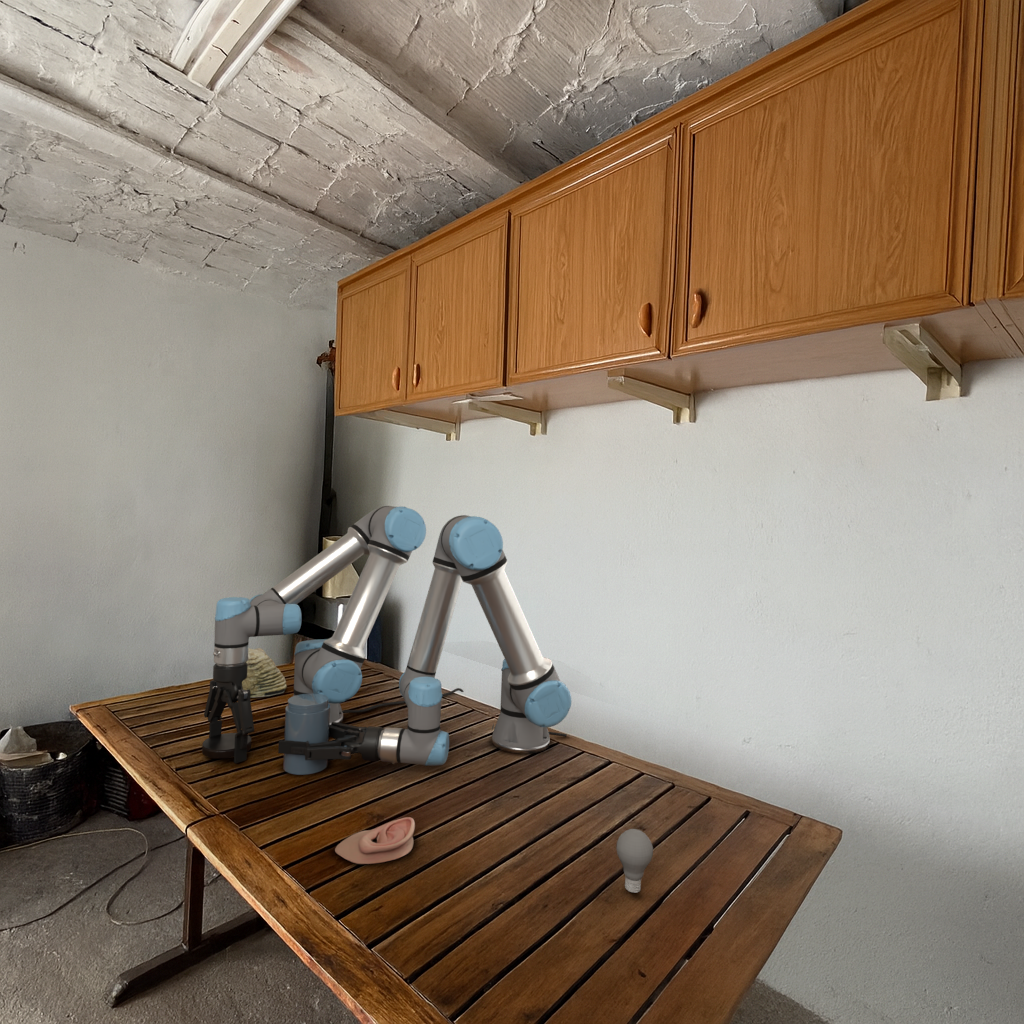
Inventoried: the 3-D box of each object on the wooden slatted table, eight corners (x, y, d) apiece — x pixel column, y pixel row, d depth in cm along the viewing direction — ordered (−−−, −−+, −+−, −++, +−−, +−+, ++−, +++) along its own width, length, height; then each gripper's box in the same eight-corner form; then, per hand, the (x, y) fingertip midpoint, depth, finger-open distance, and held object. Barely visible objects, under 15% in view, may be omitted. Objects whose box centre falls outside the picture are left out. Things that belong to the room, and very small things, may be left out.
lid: (208, 741, 156) (208, 733, 156) (254, 740, 158) (255, 732, 158) (196, 759, 145) (197, 750, 145) (246, 757, 147) (246, 748, 147)
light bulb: (610, 879, 108) (613, 822, 108) (644, 879, 109) (647, 822, 109) (619, 902, 102) (622, 840, 102) (655, 901, 103) (658, 840, 103)
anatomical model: (327, 836, 111) (356, 806, 122) (326, 858, 111) (355, 826, 122) (398, 848, 108) (421, 815, 119) (397, 871, 108) (420, 836, 119)
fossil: (218, 695, 195) (220, 647, 195) (278, 685, 208) (279, 640, 207) (228, 703, 189) (230, 653, 188) (289, 692, 201) (290, 645, 201)
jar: (320, 775, 144) (322, 707, 143) (276, 773, 144) (279, 705, 143) (333, 758, 154) (335, 693, 153) (292, 756, 154) (294, 691, 153)
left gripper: (190, 656, 155) (187, 746, 155) (242, 675, 141) (239, 773, 142) (220, 651, 161) (216, 737, 161) (273, 669, 147) (269, 763, 148)
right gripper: (366, 781, 136) (266, 774, 138) (393, 742, 159) (307, 735, 160) (368, 747, 136) (267, 739, 137) (394, 712, 159) (308, 706, 160)
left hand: (227, 754), depth 152 cm, fingers closed on lid, 11 cm apart
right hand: (289, 737), depth 149 cm, fingers closed on jar, 10 cm apart
